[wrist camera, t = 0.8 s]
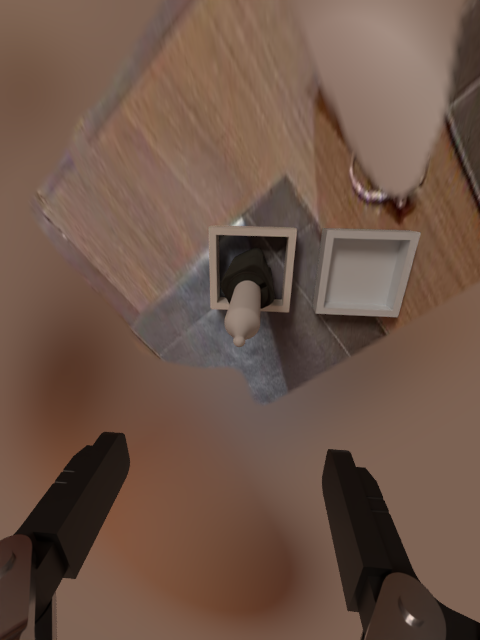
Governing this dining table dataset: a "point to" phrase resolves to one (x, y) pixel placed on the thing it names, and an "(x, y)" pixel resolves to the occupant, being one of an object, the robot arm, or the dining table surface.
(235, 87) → the dining table surface
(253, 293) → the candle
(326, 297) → the grey tray
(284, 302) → the grey frame
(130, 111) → the dining table surface
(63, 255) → the dining table surface
